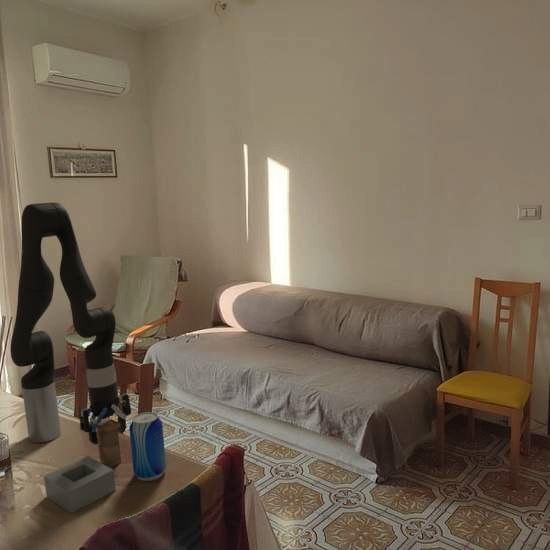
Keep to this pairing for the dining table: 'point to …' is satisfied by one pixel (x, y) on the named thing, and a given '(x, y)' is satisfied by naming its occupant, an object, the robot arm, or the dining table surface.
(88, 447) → the dining table surface
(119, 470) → the dining table surface
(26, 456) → the dining table surface
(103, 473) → the well block
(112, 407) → the robot arm
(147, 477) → the beer can
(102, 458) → the tall wooden block
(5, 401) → the dining table surface
